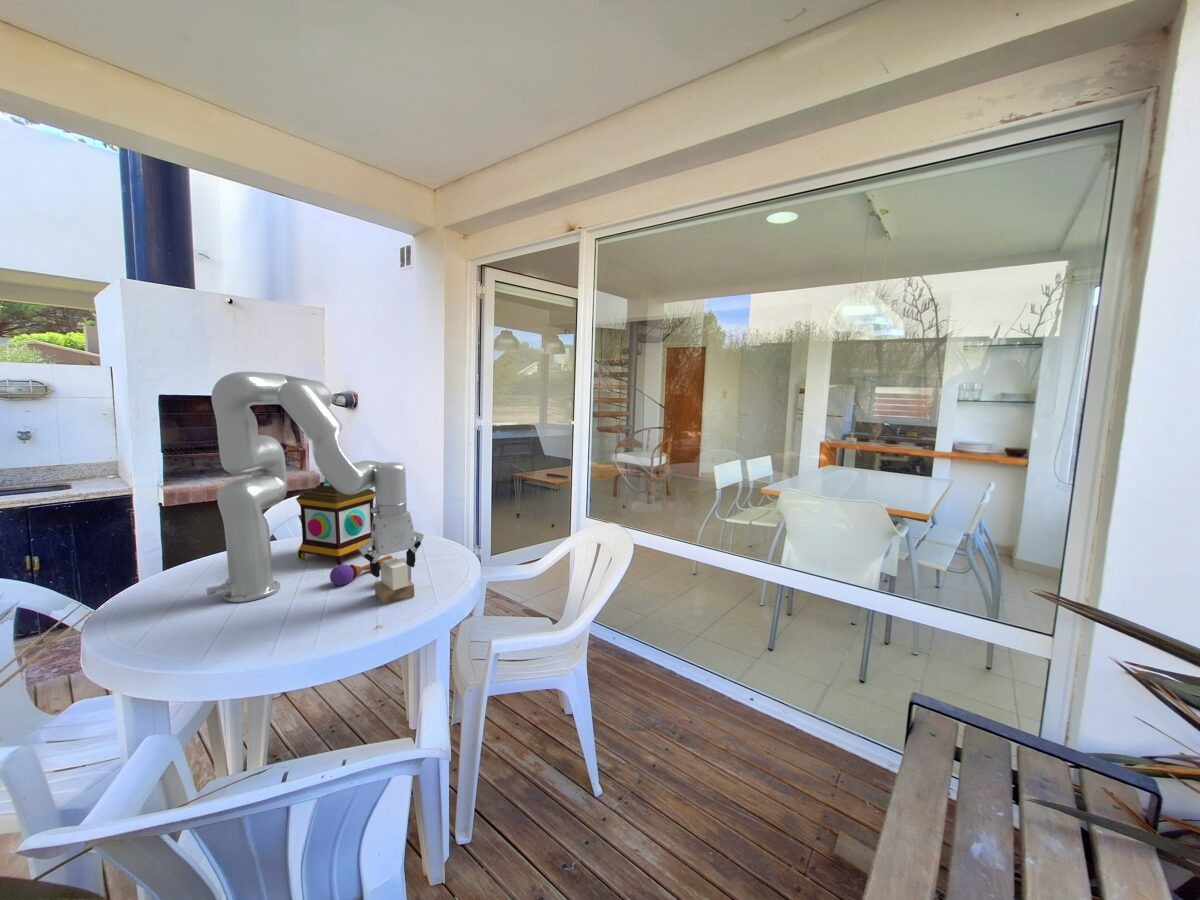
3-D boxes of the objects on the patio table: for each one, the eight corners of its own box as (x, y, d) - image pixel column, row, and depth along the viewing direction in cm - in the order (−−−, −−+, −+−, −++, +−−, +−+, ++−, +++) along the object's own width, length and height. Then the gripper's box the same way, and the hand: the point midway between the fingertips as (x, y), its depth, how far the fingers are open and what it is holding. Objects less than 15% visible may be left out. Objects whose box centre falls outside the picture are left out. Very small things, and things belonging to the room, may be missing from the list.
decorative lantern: (342, 542, 172) (338, 461, 168) (386, 549, 165) (383, 465, 162) (291, 561, 153) (285, 469, 149) (338, 569, 147) (333, 474, 143)
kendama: (398, 554, 150) (341, 571, 131) (395, 572, 150) (338, 591, 132) (384, 548, 152) (326, 564, 134) (381, 566, 153) (323, 583, 134)
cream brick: (408, 586, 127) (407, 564, 126) (393, 590, 124) (392, 568, 123) (396, 578, 131) (395, 557, 131) (382, 582, 128) (381, 561, 128)
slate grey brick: (387, 587, 134) (387, 567, 133) (381, 583, 137) (380, 563, 136) (411, 580, 140) (410, 560, 139) (404, 576, 142) (404, 557, 141)
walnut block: (382, 606, 123) (382, 592, 123) (375, 595, 129) (374, 581, 129) (414, 598, 128) (413, 584, 128) (405, 588, 134) (405, 575, 134)
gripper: (364, 518, 117) (367, 584, 119) (428, 505, 130) (430, 565, 132) (351, 512, 121) (354, 576, 124) (415, 501, 135) (416, 559, 137)
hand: (393, 570), depth 128 cm, fingers open, 9 cm apart
